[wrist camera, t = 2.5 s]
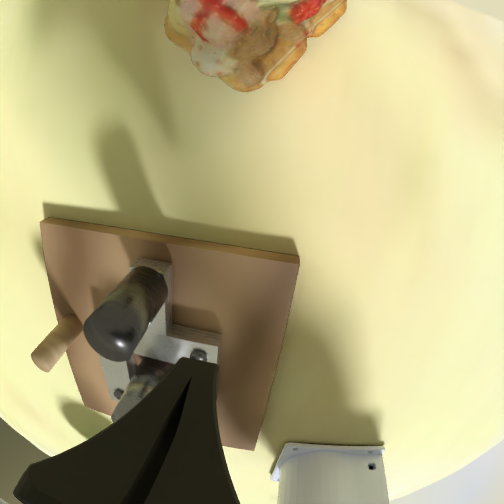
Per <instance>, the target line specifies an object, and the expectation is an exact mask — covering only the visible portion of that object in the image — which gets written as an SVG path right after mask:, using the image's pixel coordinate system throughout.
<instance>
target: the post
mask: <svg viewBox="0 0 504 504" xmlns="http://www.w3.org/2000/svg"><path fill="white" fill-rule="evenodd" d="M174 365H175V364H173V363H169V362H165V361H161V360H157V359H153V358H149V357H145V356H144V357H143V359H142V360H141V362H140V364H139V366H138V367H137V369H136V371H135V373H134V375H133V376H132V378H131V380H130V382H129V384H128V386H127V387H126V389H125V391H124V393H123V395H122V397H121V398H120V400H119V402H118V404H117V406H116V408H115V410H114V411H113V413H112V415H111V419H112V421H113V423H114V422H116V421H117V420H118V419H120V418H121V417H122V416H123V415H125V414H126V413H127V412H128V411H130V410H131V409H132V408H133V407H134V406H135V405H136V404H138V403H139V402H140V401H141V400H142V399H143V398H144V397H145V396H146V395H147V394H148V393H149V392H150V391H151V390H152V389H153V388H154V387H155V386H156V385H157V384H158V383H159V382H160V381H161V380H162V379H163V378H164V377H165V376H166V374H167V373H168V372H169V371H170V370H171V369H172V367H173V366H174Z"/></svg>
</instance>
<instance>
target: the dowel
mask: <svg viewBox="0 0 504 504" xmlns="http://www.w3.org/2000/svg"><path fill="white" fill-rule="evenodd" d="M82 331H83V325H82V323H81V321H80V320H79V319H78V318H77V317H76V316H75V315H72V314H68V315H66V316H65V317H64V319H63V320H62V321H61V322H60V323H59V324H58V325H57V326H56V327H55V328H54V329H53V330H52V331H51V332H50V333H49V335H48V336H47V337H46V338H45V339H44V340H43V341H42V342H41V343H40V344H39V346H38V347H37V348H36V349H35V350H34V351H33V352H32V353H31V358H32V360H33V362H34V363H35V365H36V366H37V367H38V368H40V369H41V370H42V371H45V372H49V371H50V370H51V369H52V367H53V366H54V365H55V364H56V362H57V361H58V360H59V359H60V357H61V356H62V355H63V354H64V352H65V351H66V350H67V349H68V348H69V346H70V345H71V344H72V343H73V341H74V340H75V339H76V338H77V337H78V335H79V334H80V333H81V332H82Z"/></svg>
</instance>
